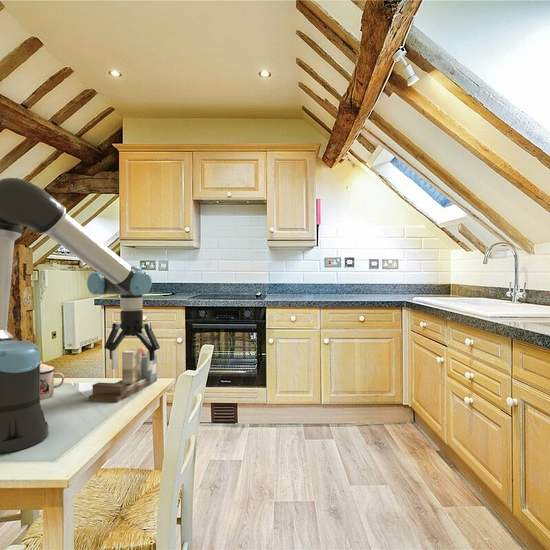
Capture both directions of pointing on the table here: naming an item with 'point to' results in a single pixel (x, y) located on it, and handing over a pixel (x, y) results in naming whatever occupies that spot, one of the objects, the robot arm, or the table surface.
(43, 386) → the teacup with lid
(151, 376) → the cabinet
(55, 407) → the table surface
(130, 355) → the carriage
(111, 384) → the rail bed
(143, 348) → the button
